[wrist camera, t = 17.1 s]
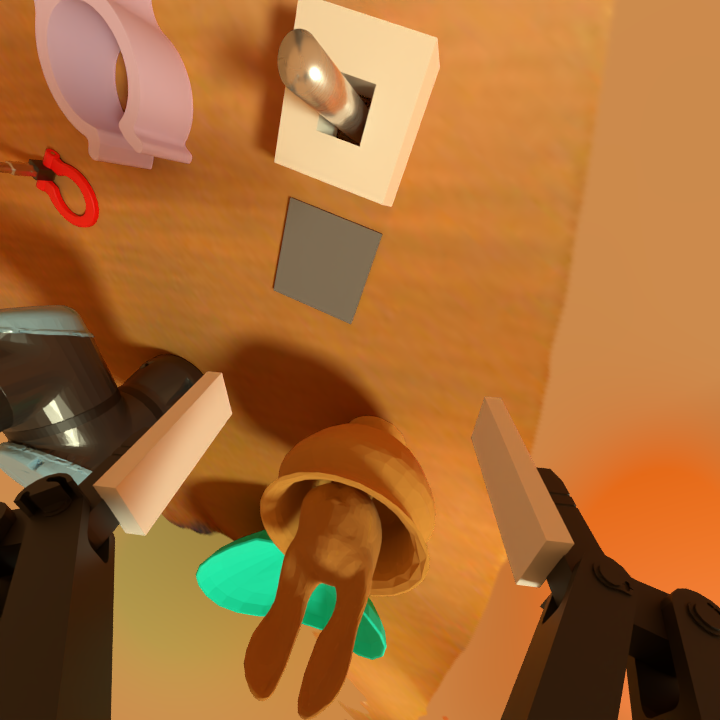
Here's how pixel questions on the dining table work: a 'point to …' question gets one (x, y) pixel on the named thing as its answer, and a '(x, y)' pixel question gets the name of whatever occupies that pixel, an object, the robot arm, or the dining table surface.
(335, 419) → the dining table surface
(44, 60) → the clip
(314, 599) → the table top decor
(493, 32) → the dining table surface
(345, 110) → the steel pin
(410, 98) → the hole block
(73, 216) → the tow hook
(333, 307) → the rubber mat
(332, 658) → the decorative bowl
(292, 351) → the dining table surface
